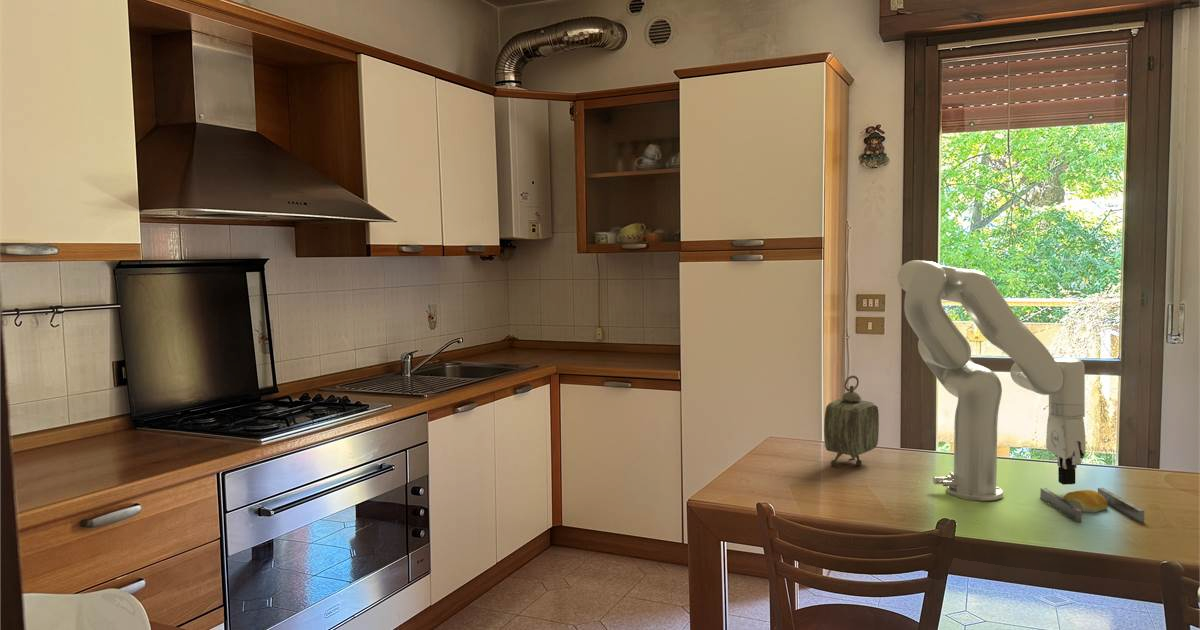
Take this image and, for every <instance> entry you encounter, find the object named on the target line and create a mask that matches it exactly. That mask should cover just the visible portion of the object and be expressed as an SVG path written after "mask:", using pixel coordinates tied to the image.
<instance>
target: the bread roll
mask: <svg viewBox="0 0 1200 630" xmlns="http://www.w3.org/2000/svg"><path fill="white" fill-rule="evenodd" d="M1061 498H1062V499H1064V500H1065V501H1067V502H1069V503H1070V504H1072V505H1073V506H1075V507H1076V508H1078V509H1080V510H1081V511H1082V513H1096V512H1097V513H1098V512H1100V511H1105V510H1107V509H1108V506H1109V504H1107V501H1106V499H1105V498H1104V497H1103V496H1102V495H1101V494H1099V493H1098V491H1094V490H1092V489H1084V490H1083V489H1082V490H1074V491H1071V492H1067V493H1065V494H1064V495H1063V496H1062V497H1061Z"/></svg>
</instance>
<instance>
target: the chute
mask: <svg viewBox="0 0 1200 630" xmlns="http://www.w3.org/2000/svg"><path fill="white" fill-rule="evenodd" d="M1097 492H1098V493H1099V494H1101V495H1102V496H1103V497H1104V498H1105V499H1106V501H1107V504H1108V506H1110V507H1112V508H1113V509H1115V510H1117V511H1119V512H1121V513H1123V514H1125V515H1126V516H1127V517H1129V518H1131V519H1132V520H1135V521H1136V522H1137V523H1140V522H1141V523H1142V522H1145V510H1144V509H1142V508H1140V507H1139V506H1137V505H1135V504H1133V503H1132V502H1129V501H1128V500H1126V499H1124V498H1122V497H1120V496H1119V495H1117V494H1115V493H1113V492H1112V491H1110V490H1108V489H1106V488H1104V487H1098V488H1097ZM1039 497H1040V500H1042V501H1043V502H1045V503H1046V504H1048V503H1049V504H1048V505H1050V506H1051V507H1053V508H1054V509H1055V510H1057V511H1058V512H1060V513H1062V514H1063V515H1065V516H1066V517H1067V518H1069V519H1071V520H1072V521H1074V522H1075V523H1082V513H1083V512H1082V511H1081V510H1080V509H1078V508H1076V507H1075V506H1073V505H1072V504H1070V503H1069V502H1067V501H1065V500H1064V499H1062V498H1063V497H1060V496H1059V495H1057V494H1056V493H1054V492H1053V491H1051V490H1050V489H1048V488H1046V487H1041V488H1040V496H1039Z"/></svg>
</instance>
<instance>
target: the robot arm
mask: <svg viewBox="0 0 1200 630" xmlns="http://www.w3.org/2000/svg"><path fill="white" fill-rule="evenodd" d="M896 277H897V284H898V285H899V287H900V288H901V289H902V290H903V291H904V292H905V295H904V296H905V297H904V305H903V307H904V309H903V310H904V315H905V318H906V321H907V322H908V325H909V326H910V327H911V329H912V331H913V332H914V333H915V335H916V337H917V338H918V341H917V349H918V353H919V355H920V357H921V359H922V360H923V361H924V362H925V364H926V365H927V367H928V369H930V371H931V372H932V374H933V375H934V376H935V377H936V379H937V380H938V381H939V383H940V385H942V387H943V388H944V389H945V390H946V391H947V392H948V393H950V395H952V396H954V397H956V398H957V403H956V404H957V405H956V408H955V412H954V413H955V414H954V422H953V423H954V425H953V430H954V435H953V438H954V439H953V441H954V442H953V447H954V448H953V471H949V474H948V475H946V476H933V477H932V481H933V482H932V483H933V485H941V486H942V487H946V491H947V493H949V494H950V495H952V496H954V497H955V498H961V499H965V500H968V501H969V500H971V501H979V502H980V501H981V502H982V501H983V502H986V501H988V502H989V501H997V500H1000V499H1001V498H1003V496H1004V490H1003V489H1002V488H1001V487H999V486H997V471H998V470H997V467H998V466H997V463H998V462H997V461H998V423H999V422H998V421H999V410H1000V404H1001V400H1002V395H1003V394H1002V392H1003V388H1002V382H1001V380H1000V378H999V377H998V375H997V374H996V373H995V372H994V371H993V370H991V369H990V368H989V367H988V368H987V367H985V366H983V365H981V364H978V363H974V362H975V361H973V360H972V359H971V356H972V348H971V345H970V343H969V341H968V340H967V338H966V337H965V335H963V334H962V332H961V330H959V329H958V327H957V326H956V324H955V323H954V322H953V320H952V319H951V318H950V317H949V315H948V313H947V312H946V310H945V309H944V306H943V304H942V301H949V302H954V303H955V302H956V303H959V304H960V305H961V306H962V308H963V309H964V311H966V313H967V315H968V316H969V317H970V318H971V320H972V321H973V324H975V326H976V327H977V328H978V330H979V331H980V333H981V335H982V336H983V337H984V338H985V339H986V340H987V341H988V342H990V344H992V345H993V346H995V347H996V348H998V349H999V350H1001V351H1002V352H1003V353H1005V354H1006V355H1007V356H1008V357H1009V358H1010V359H1011V360H1012V361H1013V364H1012V365H1011V367H1010V370H1009V372H1010V377H1011V379H1012V381H1013V382H1014V383H1015V384H1016V385H1017V386H1019V387H1022V388H1024V389H1026V390H1029V391H1031V392H1034V393H1036V394H1039V395H1043V396H1048V416H1047V424H1046V437H1045V438H1046V439H1045V440H1046V441H1045V444H1046V445H1045V448H1046V450H1047V451H1048V452H1050V453H1052V454H1054V455H1055V456H1056V457H1055V458H1056V461H1057V462H1056V464H1057V466H1058V474H1057V475H1058V479H1057V480H1058V481H1057V482H1058V483H1059V484H1061V485H1075V484H1076V469H1077V466H1081V465H1082V460H1081V459H1084V458H1085V457H1086V450H1087V449H1086V448H1087V446H1086V444H1087V443H1086V442H1087V440H1086V429H1085V422H1084V421H1085V420H1084V418H1085V416H1086V414H1085V412H1086V411H1085V409H1086V407H1085V405H1086V404H1085V403H1086V401H1085V398H1086V397H1085V396H1086V394H1085V393H1086V392H1085V391H1086V390H1085V387H1086V386H1085V383H1086V382H1085V380H1086V379H1085V375H1086V374H1085V373H1086V372H1085V368H1086V367H1085V363H1084V362H1083V360H1081V359H1080V358H1074V357H1056V358H1054V357H1053V355H1052V354H1051V353H1050V351H1049V350H1048V348H1047V347H1046V346H1045V345H1044V344H1043V343H1042V342H1041V340H1040V339H1039V338H1038V337H1037V336H1036V335H1034V333H1033V332H1031V331H1032V330H1030V329H1029V328H1028V327H1027V326H1026V325H1025V324H1024V323H1023V321H1021V320H1020V319H1019V318H1018V316H1017V315H1016V313H1014V311H1013V310H1012V309H1011V307H1010V305H1009V304H1008V302H1007V301H1006V300H1005V298H1004V297H1003V296H1002V294H1001V293H1000V291H999V290H998V288H997V287H996V286H995V283H993V280H991V278H990V277H989V276H988V275H987V274H986V273H984V272H982V271H980V270H978V269H977V270H976V269H968V268H958V267H951V266H946V265H941V264H938V263H937V262H934V261H929V260H919V259H917V260H916V259H915V260H910V261H907V262H905V263H904V264H902V265H901V267H900V268H899V269H898V271H897V276H896Z"/></svg>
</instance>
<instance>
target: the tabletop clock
mask: <svg viewBox="0 0 1200 630" xmlns="http://www.w3.org/2000/svg"><path fill="white" fill-rule="evenodd" d="M851 379H855V380H856V384H855V386H853V385H850V386H849V388H848V387H847V384H848V382H849V380H851ZM859 384H860V383H859V378H858V377H857V376H856V375H849V376H848V377H847V378H846V379H845V382H844V389H845V391H847V392H845V393H844V394H843V395H842V398H838V399H836V400H833V401H831V402H829V403H828V404H827V405H826V406H825V412H824V419H823V420H824V422H823V424H824V425H823V435H824V436H823V437H824V446H825V447H824V448H825V450H826V451H828V452H832V453H836V456H835V458H834V459H833V460H831V461H830V466H832V467H836V466H837V461H838V460H839V458H840V457H841V456H842V455H847V456H850V458H852V459H855V458H856V461H855V464H856V466H858V467H859V466H861V465H862V464H863V461H862V460H861V459H860V456H859V455H863V454H865V453H868V452H870V451H872V450H874V449H876V447H877V446H878V443H879V437H880V436H879V433H880V431H879V428H880V420H879V419H880V418H879V417H880V416H879V407H878V406H877V405H876V404H874V402H872V401H867V400H862V397H861V395H860V394H859V393H858V392H856V391H855V390H856V389H857V388H858V386H859Z"/></svg>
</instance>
